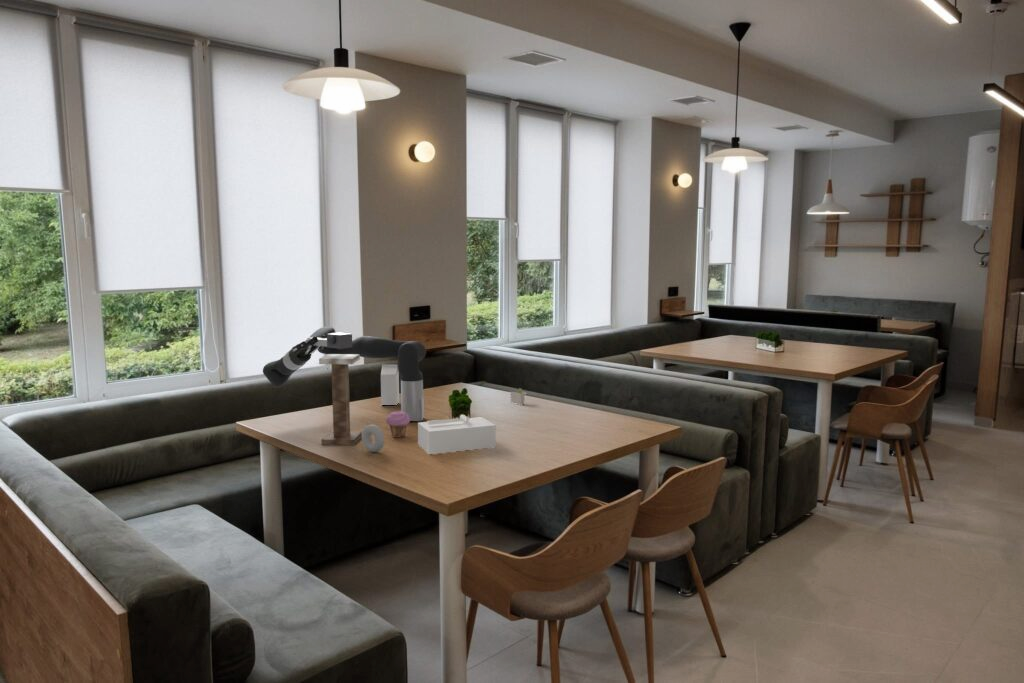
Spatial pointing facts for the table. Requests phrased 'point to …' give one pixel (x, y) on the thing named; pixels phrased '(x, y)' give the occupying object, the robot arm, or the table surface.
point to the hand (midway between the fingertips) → (320, 338)
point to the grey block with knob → (335, 340)
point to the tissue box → (456, 435)
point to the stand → (340, 399)
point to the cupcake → (398, 423)
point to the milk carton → (389, 385)
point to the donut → (377, 434)
